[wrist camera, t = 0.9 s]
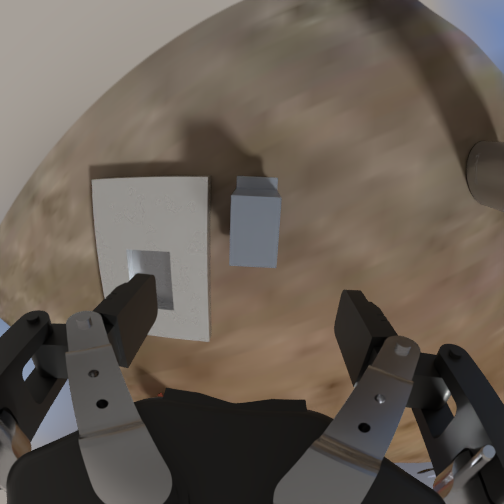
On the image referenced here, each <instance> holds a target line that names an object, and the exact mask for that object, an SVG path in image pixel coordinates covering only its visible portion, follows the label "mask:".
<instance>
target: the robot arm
mask: <svg viewBox="0 0 504 504" xmlns="http://www.w3.org/2000/svg"><path fill="white" fill-rule="evenodd" d="M467 181H468V185H469V189H470V191H471V194H472V195H473V197H474V199H475V200H476V201H477V202H479V203H480V204H482V205H485V206H488V207H491V208H494V209H497V210H499V211H502V212H504V142H493V141H481V142H478V143H477V144H476V145H475V146H474V147H473V148H472V150H471V152H470V154H469V157H468V161H467ZM157 314H158V303H157V292H156V280H155V276H154V275H152V274H143V273H136V274H135V275H134V276H133V277H132V278H131V279H130V281H129V282H128V283H126V282H125V283H123V284H121V285H119V286H117V287H116V288H115V289H114V290H113V291H112V292H111V294H109V295H108V296H107V297H106V299H104V300H103V301H102V302H101V303H100V304H99V305H98V306H97V307H96V308H95V309H94V310H93V311H82V312H78V313H75V314H73V315H72V316H70V317H69V318H68V320H67V322H66V324H51V321H50V318H49V315H48V313H46V312H45V311H32V312H29V313H26V314H25V315H23V316H22V317H21V318H20V319H19V320H18V321H17V322H15V323H14V324H13V325H12V326H11V327H10V328H9V329H8V330H7V331H6V332H5V333H4V334H3V335H2V336H1V337H0V489H2V490H4V491H5V492H6V493H7V504H504V404H503V403H502V401H501V400H500V398H499V397H498V395H497V394H496V392H495V391H494V389H493V388H492V386H491V385H490V383H489V382H488V380H487V379H486V377H485V376H484V375H483V373H482V372H481V370H480V369H479V368H478V366H477V365H476V363H475V362H474V361H473V359H472V358H471V357H470V355H469V354H468V353H467V352H466V351H465V350H464V349H463V348H461V347H459V346H457V345H454V344H444V345H442V346H441V347H440V349H439V351H438V353H437V355H433V354H426V353H421V352H420V347H419V346H418V344H417V343H416V342H414V341H413V340H411V339H409V338H407V337H404V336H398V335H397V333H396V332H395V330H394V329H393V327H392V326H391V324H390V323H389V321H388V320H387V318H386V317H385V316H384V314H383V312H382V311H381V310H380V308H379V307H377V306H376V305H375V304H373V303H372V302H368V300H367V299H366V297H365V296H364V294H363V293H362V292H361V291H360V290H343V292H342V294H341V298H340V302H339V307H338V311H337V315H336V320H335V326H334V332H335V336H336V339H337V342H338V345H339V347H340V350H341V353H342V356H343V358H344V361H345V364H346V367H347V370H348V373H349V375H350V378H351V381H352V384H353V387H355V389H354V390H353V392H352V393H351V395H350V396H349V398H348V399H347V401H346V402H345V404H344V405H343V407H342V408H341V409H340V411H339V412H338V414H337V415H336V416H335V418H334V419H332V418H330V417H328V416H326V415H324V414H321V413H318V412H315V411H311V410H307V408H306V401H305V400H282V399H269V400H262V401H254V402H246V403H230V402H227V401H223V400H220V399H217V398H214V397H210V396H207V395H204V394H201V393H197V392H190V391H183V390H177V389H171V388H166V390H165V393H164V396H163V397H155V398H148V399H143V400H140V401H136V402H133V400H132V398H131V395H130V393H129V391H128V388H127V386H126V383H125V381H124V378H123V376H122V373H121V370H120V368H119V366H121V367H126V368H129V366H130V364H131V362H132V360H133V359H134V357H135V355H136V353H137V352H138V350H139V348H140V346H141V345H142V343H143V341H144V340H145V338H146V336H147V334H148V333H149V331H150V329H151V328H152V326H153V324H154V323H155V321H156V318H157ZM30 358H32V360H33V362H34V365H35V368H34V370H33V371H32V372H31V374H30V375H29V376H28V378H27V379H26V380H25V382H24V380H23V376H22V371H23V368H24V366H25V364H26V363H27V362H28V361H29V360H30ZM67 379H69V385H70V392H71V397H72V402H73V408H74V412H75V417H76V422H77V426H78V430H77V431H75V432H73V433H71V434H69V435H67V436H65V437H62V438H60V439H58V440H56V441H53V442H51V443H49V444H46V445H44V446H42V447H39V448H37V449H35V450H32V451H31V443H30V442H31V441H32V438H33V436H34V435H35V433H36V431H37V429H38V428H39V426H40V424H41V422H42V421H43V419H44V417H45V415H46V414H47V412H48V410H49V409H50V406H51V405H52V404H53V402H54V400H55V399H56V397H57V395H58V394H59V392H60V390H61V389H62V387H63V385H64V384H65V382H66V381H67ZM451 395H452V397H453V399H454V400H455V402H456V405H457V411H456V415H455V417H454V416H453V414H452V412H451V410H450V408H449V406H448V404H447V400H448V399H449V397H450V396H451ZM405 407H409V408H412V411H413V413H414V416H415V418H416V421H417V423H418V426H419V429H420V431H421V434H422V437H423V439H424V442H425V445H426V448H427V451H428V453H429V456H430V459H431V462H432V465H433V468H434V471H435V474H436V479H435V481H434V484H433V489H431V488H430V487H428V486H427V485H425V484H424V483H422V482H420V481H419V480H417V479H416V478H414V477H413V476H411V475H410V474H408V473H407V472H405V471H404V470H403V469H401V468H400V467H398V466H397V465H395V464H394V463H392V462H391V461H390V460H388V459H387V458H385V457H384V456H385V453H386V451H387V449H388V447H389V445H390V443H391V441H392V438H393V436H394V434H395V431H396V429H397V427H398V424H399V422H400V419H401V417H402V414H403V412H404V409H405Z"/></svg>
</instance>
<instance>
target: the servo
mask: <svg viewBox="0 0 504 504" xmlns="http://www.w3.org/2000/svg"><path fill="white" fill-rule="evenodd" d="M277 184H278V178H273V177H254V176H237V188H236V190H235V191H234V192H233V194H232V195H231V219H230V260H229V265H230V266H249V267H268V268H276V264H277V252H278V239H279V225H280V211H281V196H280V194H279V193H278V191H277Z"/></svg>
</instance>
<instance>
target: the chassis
mask: <svg viewBox="0 0 504 504" xmlns="http://www.w3.org/2000/svg"><path fill="white" fill-rule="evenodd" d="M210 191H211V176H135V177H113V178H98V179H93V180H92V198H93V214H94V226H95V236H96V245H97V253H98V261H99V268H100V274H101V280H102V286H103V292H104V297H105V299H106V297H107V296H108V295H109V294H111V292H112V291H113V290H114V289H115V288H116V287H117V286H119V285H121V284H123V283H125V282H126V283H128V282H129V281H130V279H131V278H132V277H133V276H134V275H135V274H136V273H143V274H152V275H154V276H155V280H156V292H157V303H158V314H157V318H156V321H155V323H154V324H153V326H152V328H151V329H150V331H149V333H148V334H147V335H153V336H161V337H169V338H177V339H186V340H196V341H207V342H209V341H210V337H211V301H210Z"/></svg>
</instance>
